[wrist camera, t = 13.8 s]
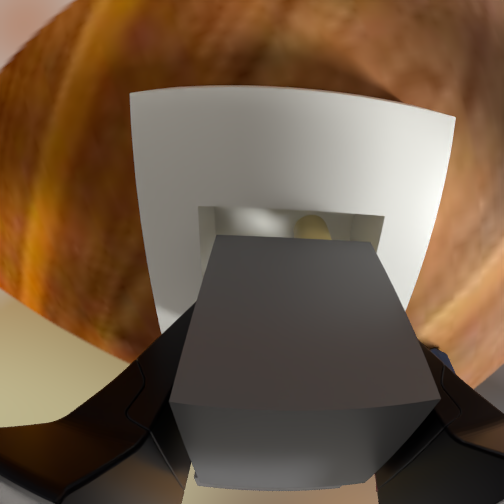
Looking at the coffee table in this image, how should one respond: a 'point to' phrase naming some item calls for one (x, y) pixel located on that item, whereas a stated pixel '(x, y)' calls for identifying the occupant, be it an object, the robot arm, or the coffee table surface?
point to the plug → (298, 364)
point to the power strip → (282, 176)
